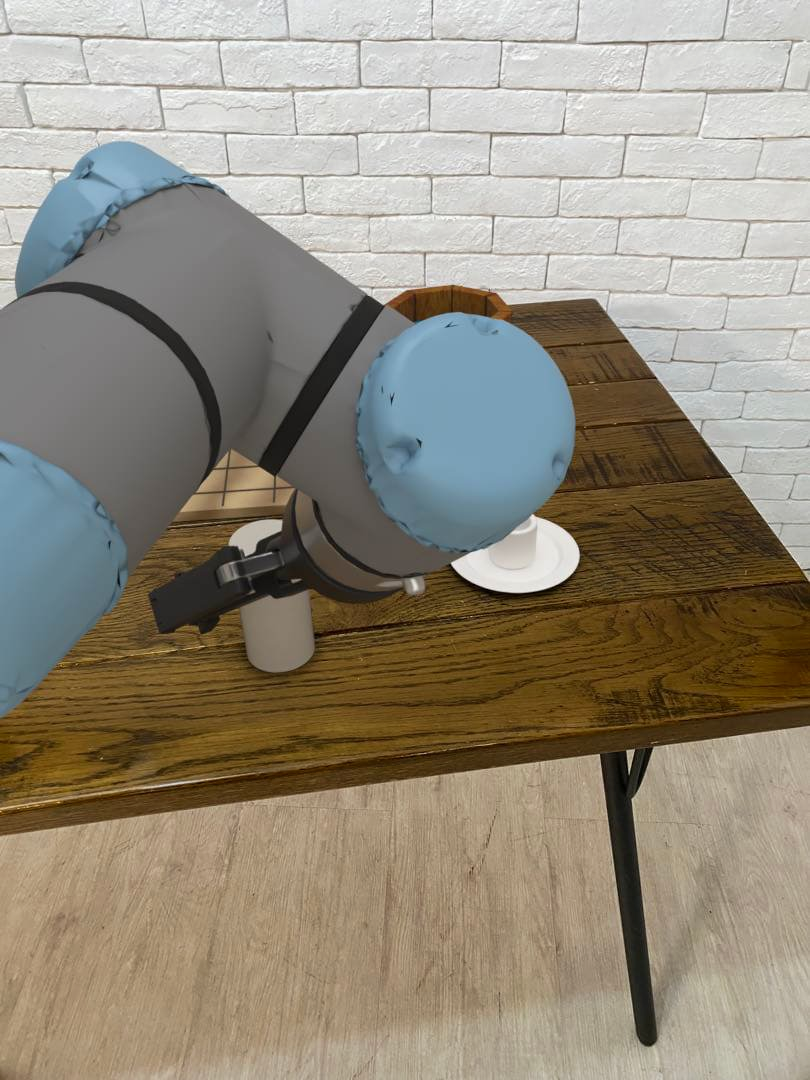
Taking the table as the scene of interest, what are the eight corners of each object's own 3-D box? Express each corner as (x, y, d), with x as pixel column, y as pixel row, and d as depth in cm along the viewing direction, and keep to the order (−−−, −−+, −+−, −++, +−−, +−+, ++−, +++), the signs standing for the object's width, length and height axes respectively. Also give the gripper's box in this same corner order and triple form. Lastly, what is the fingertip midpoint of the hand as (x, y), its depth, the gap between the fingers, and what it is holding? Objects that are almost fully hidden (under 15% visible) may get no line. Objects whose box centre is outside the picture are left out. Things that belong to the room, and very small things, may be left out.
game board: (121, 525, 91) (118, 514, 90) (143, 447, 103) (140, 437, 102) (325, 511, 92) (324, 501, 91) (323, 436, 104) (322, 425, 103)
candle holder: (479, 508, 92) (480, 471, 89) (596, 539, 87) (601, 501, 85) (425, 576, 83) (424, 537, 81) (551, 614, 79) (555, 574, 76)
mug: (455, 397, 111) (456, 275, 102) (532, 442, 102) (541, 312, 93) (315, 450, 102) (303, 320, 93) (387, 504, 93) (381, 366, 84)
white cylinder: (244, 675, 74) (225, 565, 67) (248, 628, 78) (230, 521, 72) (315, 670, 74) (303, 560, 67) (314, 623, 78) (303, 516, 72)
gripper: (131, 673, 40) (130, 694, 60) (616, 523, 48) (473, 586, 68) (82, 509, 41) (98, 584, 61) (567, 388, 49) (440, 489, 69)
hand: (296, 585), depth 64 cm, fingers open, 13 cm apart
